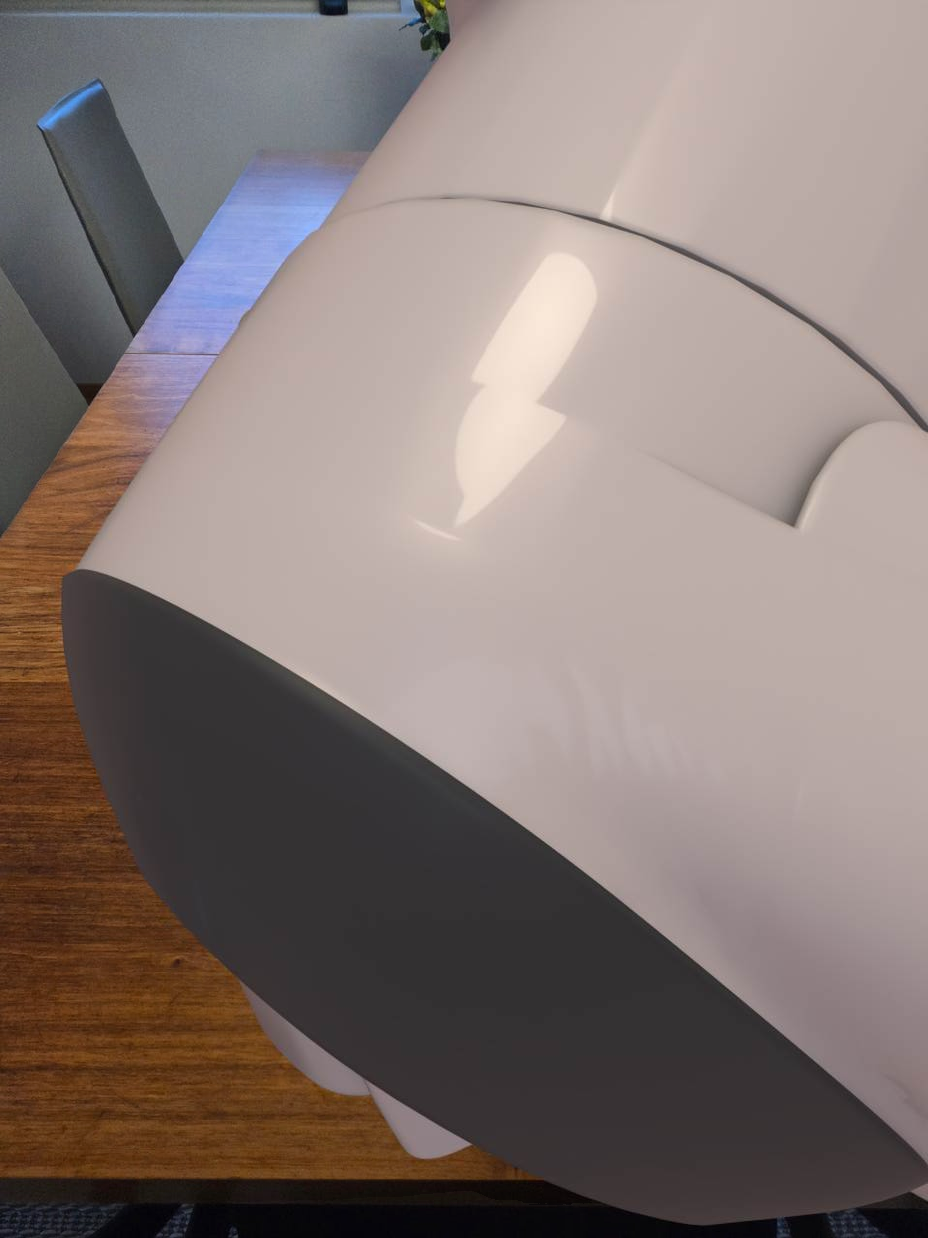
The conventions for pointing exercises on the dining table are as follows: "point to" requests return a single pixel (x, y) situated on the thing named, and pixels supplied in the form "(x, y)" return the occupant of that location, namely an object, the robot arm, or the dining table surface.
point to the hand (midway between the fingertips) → (460, 797)
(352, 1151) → the dining table surface
